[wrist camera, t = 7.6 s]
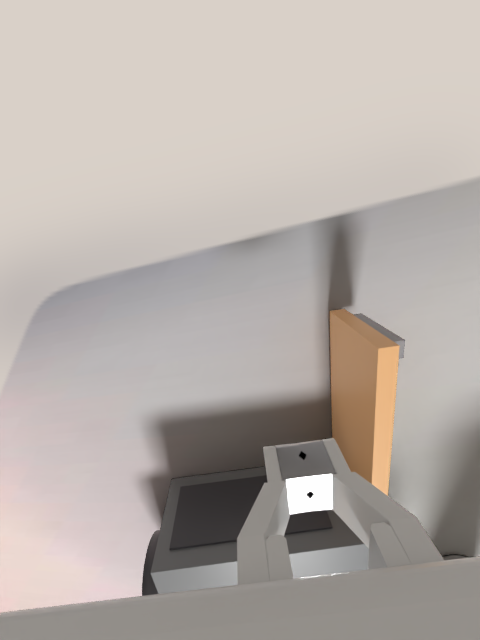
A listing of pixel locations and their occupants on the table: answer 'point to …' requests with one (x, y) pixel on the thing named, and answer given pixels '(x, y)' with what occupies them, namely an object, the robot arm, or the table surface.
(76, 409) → the table surface
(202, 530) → the box
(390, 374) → the door
